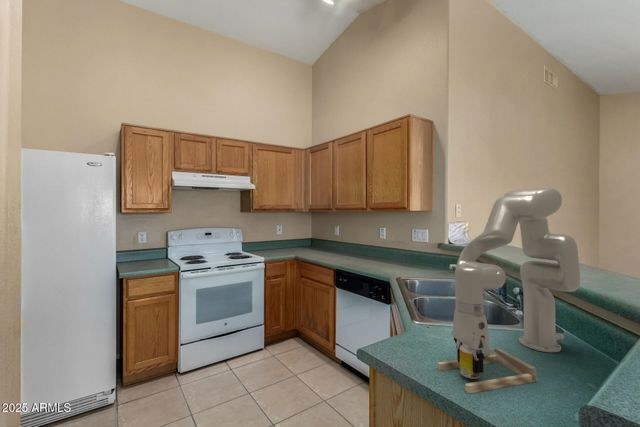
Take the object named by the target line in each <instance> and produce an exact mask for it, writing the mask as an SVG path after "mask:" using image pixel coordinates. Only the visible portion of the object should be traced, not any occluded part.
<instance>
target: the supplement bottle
mask: <svg viewBox="0 0 640 427" xmlns="http://www.w3.org/2000/svg"><path fill="white" fill-rule="evenodd" d="M477 354H480V353H479V350H478V351H477ZM473 359H474V355H473V351H472V348H470V347H468V346H467V345H465V344H463V343H462V345H461V346H460V368H459V372H460V374H461V376H463V377H465V378H468V379H472V380H477V379H479V378H480V377H481V373H473Z"/></svg>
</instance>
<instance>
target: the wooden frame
mask: <svg viewBox="0 0 640 427" xmlns="http://www.w3.org/2000/svg"><path fill="white" fill-rule="evenodd" d="M493 363H495V364H496V363H498V364H500V365H501V366H503V367H505V368H506V369H508V370H509V371H512V372H513V373H515V374H517V375H512V376H505V377H504V376H503V377H499V378H492V379H487V380H485V379H484V380H481V381H475V382H469V383H465V384H464V392H466V393H467V394H475V393H479V392H480V393H481V392H485V391H491V390H492V391H493V390H496V389H503V388H508V387H514V386H519V385H525V384H530V383H536V382H538V374H537V367H536V366H533V365H531V364H529V363H527V362H525V361H524V360H522V359H520V358H518V357H516V356H513V355H512V354H510V353H508V352H506V351H504V350H503V349H500V348H498V347H495V348H493V354H491V355H489V356H487V357H486V358H485V359H484V360H483V365H488V364H493ZM436 368H437V370H438V371H439V372H442V371H447V370H452V369H453V370H454V369H460V363H459V362H458V361H457V359H454V360H453V359H452V360H445V361H440V362H437V366H436Z"/></svg>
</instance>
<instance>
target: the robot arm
mask: <svg viewBox="0 0 640 427" xmlns="http://www.w3.org/2000/svg"><path fill="white" fill-rule="evenodd" d="M562 203H563V197H562V195H561V193H560V191H559V190H558V189H556V188H552V187H547V188H545V187H544V188H531V189H519V190H517V189H516V190H512V191H508V192H506V193H505V194H504V195H503V196H501V197H499V198H497V199H496V200H495V201H494V204H493V205H492V208H491V210H490V213H489V217H488V219H487V222H486V224H485V227H484V230H483V232H481V234H479V235H478V236H476V237H474V238H473V239H472V240H470V242H469V243H467V244H466V245H465V246H464V247H463V249H462V250H461V253H460V255H459V258H458V259H457V262H456V266H455V268H454V269H455V271H454V282H455V283H454V285H455V288H454V289H455V296H454V297H455V299H454V300H455V308H454V314H453V326H452V327H453V328H452V330H451V332H450V333H451V336H452V338H453V341H454V342H455V348H456V349H457V350H456V352H457V353H456V354H457V355H456V356H457V357H456V358H457V359H456V360H457V361H458V362H459V363H460V346H461V345H462V343H463V344H465V345H467V346H468V347H470V348H472V351H473V355H474V359H473V373H480V374H481V373H484V364H483V360H484V359H485V358H486V357H487V356H489V355H493V354H492V351H491V349H490V335H489V326H488V321H487V316H486V314H484V313H485V309H484V290H497V289H500V288H502V287H503V286H504V285H505V283H506V280H507V275H506V272H505V270H504V269H503V268H502V267H500V266H498V265H496V264H491V263H484V262H476V260H477V259H478V258H479V257H480V256H481V255H483V254H485V253H486V252H489V251H491V250H495V249H499V248H501V247H504V246H507V245H510V243H512V241H513V240H514V236H515V233H516V230H517V227H518V224H519V227H520V238H521V239H520V240H521V248H522V252H523V253H524V254H523V255H525V256H526V257H528V258H530V259H540V261H539V260H527V261H524V262H523V263H522V264H521V266H520V268H519V276H520V278H521V285H522V290H523V291H522V292H523V335H521V336H519V338H518V340H519V343H520V345H522V346H524V347H526V348H528V349H532V350H534V351H538V352H544V353H559V352H561V351H562V346H561V345H560V343H558V341H560V340H565V335H564V334H563V333H556V300H555V297H554V294H552V292H551V291H550V290H555V291H561V292H569V293H572V292H573V293H574V292H576V291H578V289H579V288H580V284H581V272H580V270H581V269H580V261H579V259H580V258H579V251H578V245H577V242H576V240H575V238H574V237H572V236H571V235H568V234H564V233H552V232H550V230H549V223H548V222H549V221H548V219H547V217H550V216H551V215H553V214H555V213H557V212H558V211H559V209H560V208H561V207H562ZM541 260H548V261H541ZM549 261H556V262H549ZM549 289H550V290H549ZM478 350H479V353H480V354H477V351H478Z"/></svg>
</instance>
